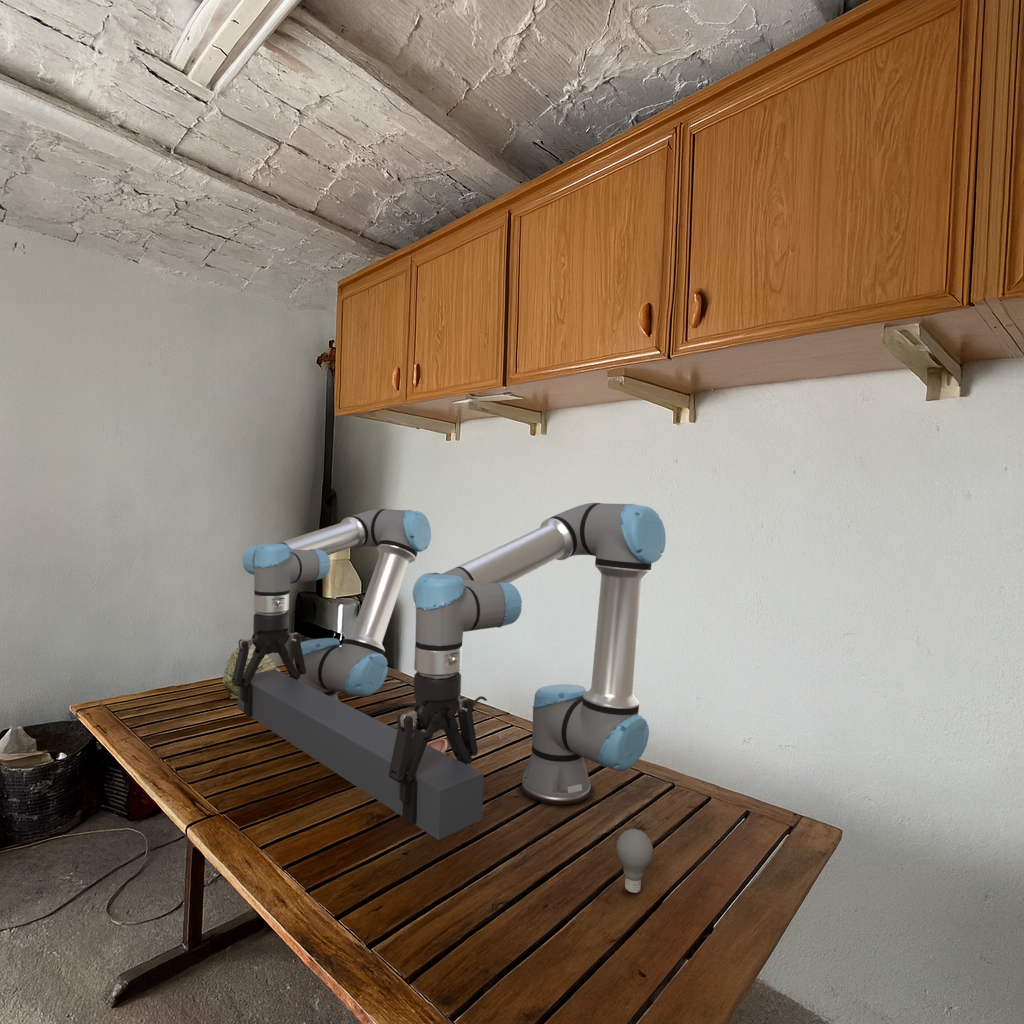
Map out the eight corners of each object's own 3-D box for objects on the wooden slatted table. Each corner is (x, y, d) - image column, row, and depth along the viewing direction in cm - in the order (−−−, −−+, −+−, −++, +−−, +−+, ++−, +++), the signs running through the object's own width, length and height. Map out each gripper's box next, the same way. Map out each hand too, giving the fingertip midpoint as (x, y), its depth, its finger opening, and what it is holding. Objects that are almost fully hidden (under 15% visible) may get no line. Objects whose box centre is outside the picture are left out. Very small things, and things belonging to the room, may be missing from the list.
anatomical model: (384, 748, 150) (402, 731, 161) (383, 765, 150) (401, 747, 161) (437, 755, 147) (452, 738, 159) (437, 772, 148) (451, 753, 159)
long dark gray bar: (237, 708, 146) (238, 676, 146) (274, 700, 153) (275, 669, 152) (438, 840, 94) (440, 790, 94) (482, 819, 101) (484, 772, 100)
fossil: (218, 695, 195) (220, 647, 195) (278, 685, 208) (279, 640, 207) (228, 703, 189) (230, 653, 188) (289, 692, 201) (290, 645, 201)
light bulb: (610, 879, 108) (613, 822, 108) (644, 879, 109) (647, 822, 109) (619, 902, 102) (622, 840, 102) (655, 901, 103) (658, 840, 103)
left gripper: (228, 620, 134) (226, 726, 134) (323, 609, 149) (321, 704, 150) (215, 614, 139) (213, 716, 140) (308, 604, 154) (306, 696, 155)
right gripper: (394, 691, 91) (390, 844, 92) (502, 665, 107) (498, 797, 107) (366, 679, 97) (362, 824, 97) (473, 656, 112) (469, 782, 113)
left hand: (269, 710), depth 145 cm, fingers closed on long dark gray bar, 9 cm apart
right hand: (433, 810), depth 102 cm, fingers closed on long dark gray bar, 9 cm apart
